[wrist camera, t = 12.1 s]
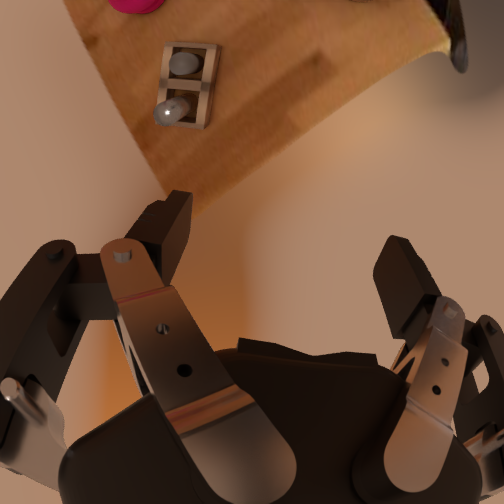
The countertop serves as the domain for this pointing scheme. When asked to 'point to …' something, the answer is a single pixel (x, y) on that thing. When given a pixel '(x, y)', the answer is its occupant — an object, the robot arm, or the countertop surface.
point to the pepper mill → (135, 5)
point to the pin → (175, 109)
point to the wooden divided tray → (189, 64)
